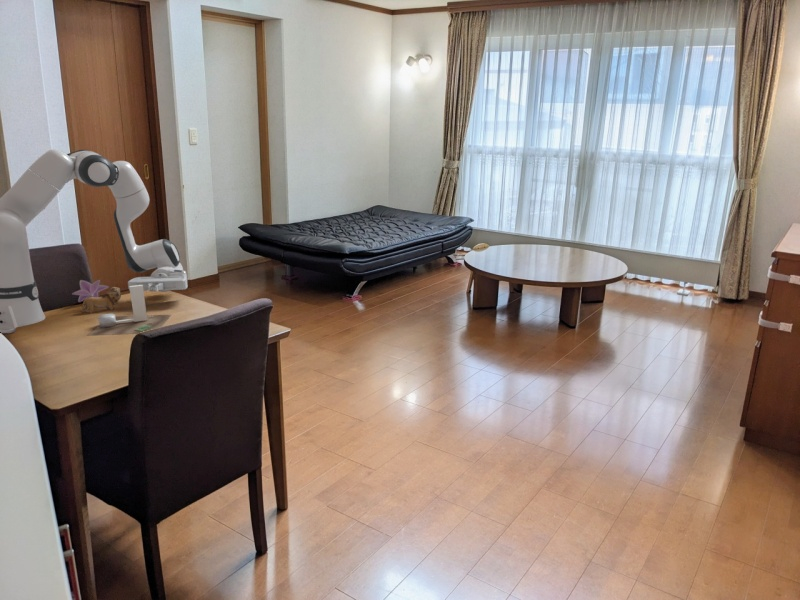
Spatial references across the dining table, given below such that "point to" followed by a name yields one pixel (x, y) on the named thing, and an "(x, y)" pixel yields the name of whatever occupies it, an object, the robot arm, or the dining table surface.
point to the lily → (89, 289)
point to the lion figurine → (103, 300)
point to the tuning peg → (137, 306)
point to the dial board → (131, 325)
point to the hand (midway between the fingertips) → (152, 289)
